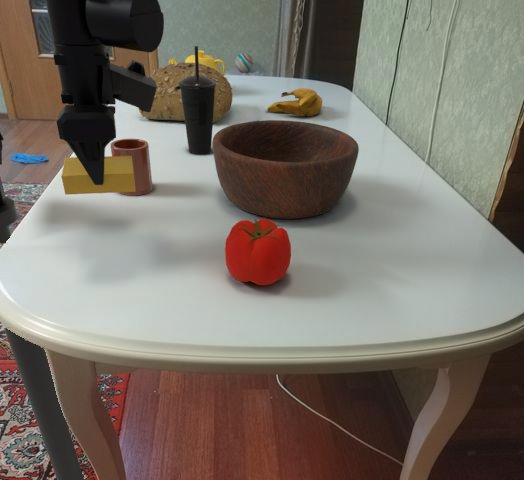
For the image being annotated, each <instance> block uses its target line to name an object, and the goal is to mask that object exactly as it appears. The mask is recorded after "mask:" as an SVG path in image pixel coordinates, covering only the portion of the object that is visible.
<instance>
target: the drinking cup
mask: <svg viewBox="0 0 524 480" xmlns="http://www.w3.org/2000/svg"><path fill="white" fill-rule="evenodd" d="M198 51H199V45H194V55H195V71H196V75H193V76H189V77H186V78H185V79H183V80H181V81H179V86H180V88H181V95H182V103H183V110H184V118H185V121H184V124H185V125H184V126H185V133H186V139H187V146H188V147H187V148H188V152H189V153H190V154H193V155H197V156H198V155H200V156H201V155H208V154H210V153H211V152H212V142H213V125H214V122H213V111H214V96H215V87H216V82H215V81H213V80H211V79H209V78H207V77H205V76H200V75H199V61H198Z"/></svg>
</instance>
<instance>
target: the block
mask: <svg viewBox="0 0 524 480" xmlns="http://www.w3.org/2000/svg"><path fill="white" fill-rule="evenodd" d="M61 181H62V186H63V190H64V194H65V195H88V194H111V193H112V194H113V193H114V194H115V193H116V194H117V193H119V192H135V180H134V170H133V161H132V156H112V155H111V156H105V159H104V182H103V185H95V184H94V183H93V181H92V179H91V178H90V176H89V175H88V173H87V172H86V170H85V168H84V167H83V165H82V164H81V162H80V161H79V159H78V158H77V156H75V157H74V156H73V157H64V161H63V167H62V171H61Z"/></svg>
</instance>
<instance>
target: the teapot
mask: <svg viewBox="0 0 524 480" xmlns="http://www.w3.org/2000/svg"><path fill="white" fill-rule="evenodd" d="M198 61H199V64H202V65H205V66H209V67H211V68H213V69H215V70H217V71H218V72H220V73H221V75H222V76H224V77H225V78H226V80H227V81H228V82H229V79H228V77H226V76H225V74H226V68H227V67H226V62H224V61H223V60H222V59H220V58H217V59H216V58H214V57H213V56H211V55H209V54H205V51H204V50H198ZM167 62H168V65H169V64H170V63H172V64H173V63H174V64H179V63H178V62H177V61H176V58H175V57H172V58H170V59H169V60H168V61H167ZM184 63H195V54H192V55H191V54H190V55H189V56H187V58H186V59H185V61H184ZM218 63H219V64H221V65H222V72H221V69H220V67H219V65H218Z"/></svg>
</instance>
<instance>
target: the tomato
mask: <svg viewBox="0 0 524 480" xmlns="http://www.w3.org/2000/svg"><path fill="white" fill-rule="evenodd" d="M278 226H279V225H278V224H277V223H275V222H274V221H272V220H271V219H268V218H260V219H255V218H254V222H253V221H251V220H249V219H242V220H239V221H238V222H236V223H235V224H234V225H233V226H232V227H231V229H230V231H229V233H228V236H227V237H226V238H225V243H224V244H225V245H224V256H225V265H226V268H227V270H228V273H229V274H230V276H231V277H232V278H234V279H235V280H237V281H240V282H243V283H244V282H245V283H247V282H252V283H253V284H256V285H259V286H269V285H273V284H274V283H276V282H277V281H280V280H281V279H283V278H284V277H285V276H286V274H287V272H288V270H289V267H290V264H291V257H292V244H291V240H290V237H289V233H288V231H287V230H286V229H285V228H284V227H278Z"/></svg>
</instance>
